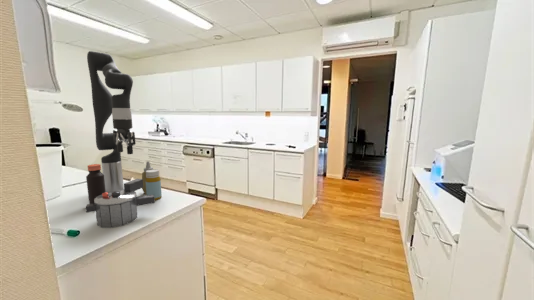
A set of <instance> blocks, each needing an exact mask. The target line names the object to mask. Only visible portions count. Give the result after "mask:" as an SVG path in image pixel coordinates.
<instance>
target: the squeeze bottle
mask: <svg viewBox="0 0 534 300" xmlns="http://www.w3.org/2000/svg"><path fill="white" fill-rule="evenodd" d="M152 169H154V167H152V166H151V163H150V161H146V164H145V167H144V168H143V172H142V173H141V179H143V188H141V189H142V192H143V194H144V195H147V193H146V171H147V170H152Z"/></svg>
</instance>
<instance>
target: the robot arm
mask: <svg viewBox="0 0 534 300" xmlns="http://www.w3.org/2000/svg"><path fill="white" fill-rule="evenodd" d="M86 57H87V67H88V71H89V72H88V73H89V78H90V87H91V100H92V107H93V115H94V122H95V128H94V129H95V144H96V148H97V149H98V150H99V151H109V150H111V151H112V152H110V153H108V154H106V155H103V156H101V158H100V160H101V170H102V173H103V174H104V180H105V189H106V192H108V193H109V192H114V191H122V190H124V175H123V166H122V164H123V163H122V156H121V155H122V154H121V153H123V152H124V147H123V143H124V144H126V153H127V155H133V154H134V151H133V147H134V146H135V145H136V135H135V131H131V129H132V128H133V118H132V110H131V92H132V89H133V83H134V81H133V78H132V76H131V75H130V74H128V73H123V72H122V71H121V70H120V69H119V68H118V67H117V63H116V62H115V60H114V58H113V56H112V55H111V54H109V53H104V52H99V51H92V50H90V51H88V52H87V55H86ZM98 71H99V72H102V75H103V76H104V83H105V85H106V86H105V85H104V83H103V81H102V80H101V79H100V76H99V74H98ZM107 87H108V88H109V89H110V90H111V89H113V90H122V93H119V94H113V95H112V93H111V91H110V90H109V89H108V88H107ZM110 117H112V127H113V128H112V129H115V130H112V132H105V133H104V127H105V125H106V124H107V121H108V120H109V119H110Z"/></svg>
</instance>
